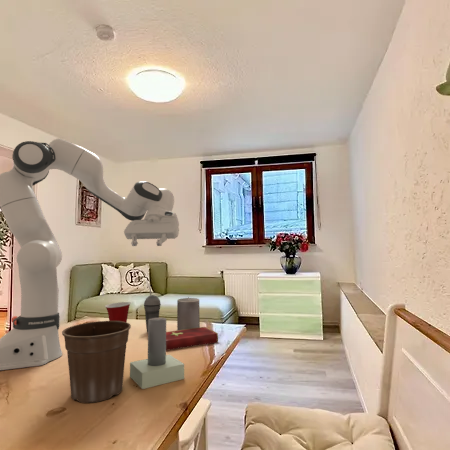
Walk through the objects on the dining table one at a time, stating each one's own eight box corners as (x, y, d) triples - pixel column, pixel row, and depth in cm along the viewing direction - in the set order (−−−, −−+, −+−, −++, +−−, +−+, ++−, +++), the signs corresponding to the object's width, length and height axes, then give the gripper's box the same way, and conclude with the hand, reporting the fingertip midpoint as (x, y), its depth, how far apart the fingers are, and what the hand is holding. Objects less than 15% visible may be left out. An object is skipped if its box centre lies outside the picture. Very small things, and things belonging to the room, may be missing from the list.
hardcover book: (218, 343, 128) (218, 332, 128) (165, 352, 118) (165, 340, 118) (205, 336, 138) (205, 326, 138) (155, 343, 128) (155, 332, 129)
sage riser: (142, 389, 86) (142, 373, 86) (129, 376, 94) (130, 362, 94) (184, 378, 92) (184, 363, 93) (169, 368, 101) (169, 354, 101)
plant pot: (58, 414, 73) (60, 339, 74) (62, 386, 88) (63, 324, 89) (134, 400, 80) (135, 331, 81) (125, 376, 95) (126, 318, 96)
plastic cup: (107, 328, 151) (108, 301, 152) (132, 327, 152) (132, 301, 153) (101, 334, 140) (102, 305, 141) (128, 333, 142) (128, 305, 142)
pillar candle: (180, 328, 150) (180, 294, 151) (202, 329, 149) (201, 295, 149) (174, 334, 140) (174, 298, 141) (197, 335, 139) (196, 298, 140)
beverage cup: (158, 333, 141) (158, 286, 142) (141, 333, 141) (141, 286, 142) (162, 329, 148) (162, 284, 150) (145, 329, 148) (146, 284, 150)
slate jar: (151, 367, 90) (152, 322, 91) (145, 362, 94) (145, 318, 95) (168, 363, 93) (169, 319, 94) (161, 358, 97) (162, 316, 98)
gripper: (128, 214, 129) (116, 238, 119) (179, 212, 126) (171, 238, 115) (133, 226, 133) (121, 251, 123) (183, 225, 130) (175, 250, 120)
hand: (146, 244), depth 119 cm, fingers open, 8 cm apart
